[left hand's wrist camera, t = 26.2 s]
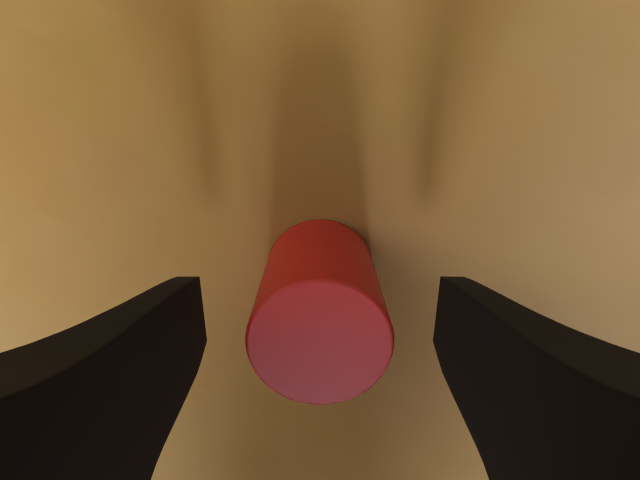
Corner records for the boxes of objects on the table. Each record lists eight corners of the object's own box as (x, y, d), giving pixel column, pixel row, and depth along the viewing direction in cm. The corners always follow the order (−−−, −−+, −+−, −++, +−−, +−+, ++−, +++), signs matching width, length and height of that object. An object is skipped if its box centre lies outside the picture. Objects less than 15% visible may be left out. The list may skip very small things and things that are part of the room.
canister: (393, 260, 13) (426, 336, 9) (327, 330, 14) (330, 428, 10) (311, 197, 12) (306, 248, 8) (247, 276, 13) (215, 357, 9)
